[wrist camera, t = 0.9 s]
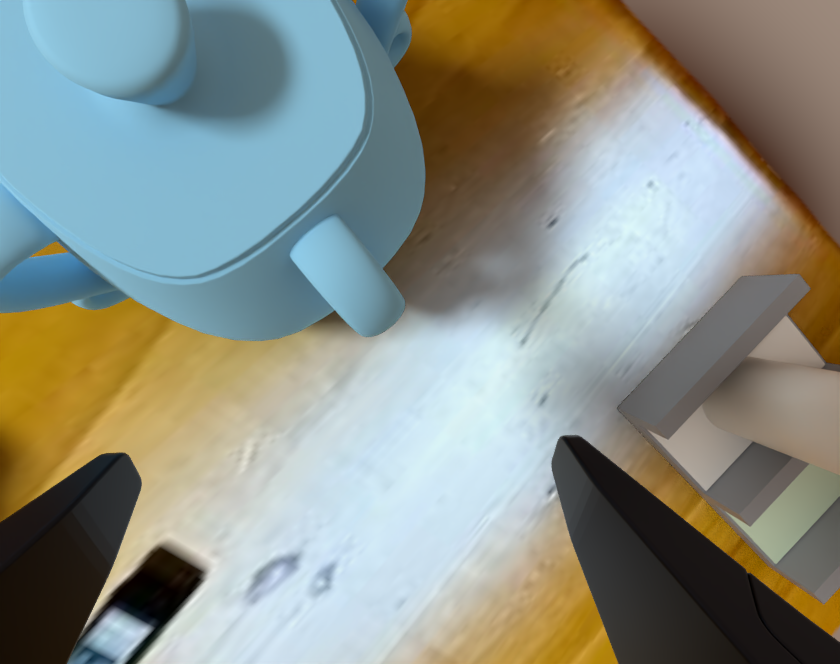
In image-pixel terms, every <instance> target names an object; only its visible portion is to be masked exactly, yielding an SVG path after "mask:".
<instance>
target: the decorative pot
mask: <svg viewBox="0 0 840 664" xmlns="http://www.w3.org/2000/svg"><path fill="white" fill-rule="evenodd" d="M406 3H407V0H357V2H356V5H355V4H354V3H353V1H352V0H0V313H11V312H22V311H29V310H36V309H41V308H46V307H51V306H55V305H59V304H64V303H68V302H72V303H74V304H75V305H77V306H79V307H82V308H85V309H91V310H98V309H103V308H107V307H110V306H113V305H115V304H117V303H119V302H122V301H124V300H125V299H127V298H129V297H131V298H132V299H134V300H136V301H137V302H139V303H141V304H143V305H144V306H146V307H148V308H150V309H152V310H154V311H156V312H158V313H160V314H162V315H164V316H165V317H167V318H169V319H171V320H173V321H175V322H177V323H180V324H182V325H185V326H187V327H190V328H192V329H195V330H197V331H200V332H202V333H206V334H210V335H214V336H219V337H223V338H228V339H232V340H244V341H264V340H272V339H279V338H282V337H285V336H288V335H291V334H294V333H296V332H299V331H301V330H303V329H305V328H307V327H309V326H310V325H312V324H314V323H316V322H317V321H319V320H321V319H323V318H324V317H326V316H327V315H329V314H330V313H332V312H333V311H334V310H335V311H336V312H337V313H338V314H339V315H340V316H341V317H342V318H343V319H344V321H345V322H346V323H347V324H348V325H349V326H350V327H352V328H353V329H354V330H355V331H356V332H357V333H358V334H360V335H361V336H364V337H372V336H376V335H379V334H381V333H383V332H384V331H386V330H387V329H389V328H390V327H391V326H392V325H394V324H395V323H396V322H397V320H398V319H399V318H400V316H401V315H402V313H403V311H404V309H405V300H404V298H403V296H402V295H401V293H400V292H399V290H398V289H397V287H396V286H395V285H394V283H393V282H392V280H391V279H390V278H389V276H388V275H387V274H386V272H385V271H384V270H383V268H384V266H385V265H386V264H387V263H388V262H389V261H390V260H391V258H392V257H393V256H394V255H395V254H396V252H397V251H398V250H399V248H400V247H401V246H402V244H403V243H404V241H405V240H406V239H407V237H408V236H409V235H410V233H411V231H412V229H413V227H414V224H415V222H416V220H417V218H418V216H419V214H420V211H421V206H422V202H423V198H424V191H425V172H426V171H425V163H424V154H423V147H422V142H421V138H420V135H419V131H418V128H417V124H416V121H415V117H414V114H413V112H412V109H411V107H410V104H409V102H408V99H407V97H406V94H405V92H404V89H403V87H402V85H401V83H400V81H399V78H398V76H397V74H396V72H395V70H394V67H395V66H396V65H397V64H398V63H399V61H400V60H401V59H402V57H403V56H404V54H405V53H406V51H407V49H408V47H409V45H410V42H411V36H412V29H411V25H410V21H409V18H408V16H407V14H406V12H405V11H404V9H405V6H406ZM56 241H57V242H58V243H59V244H61V245H62V246H63V247H64V248H65V249H66V250H67V251H69V253H61V254H54V255H46V256H38V257H31V258H29V257H30V256H32V255H33V254H35V253H36V252H38V251H40V250H41V249H43V248H44V247H46V246H48V245H49V244H51V243H54V242H56Z"/></svg>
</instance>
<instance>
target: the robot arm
mask: <svg viewBox="0 0 840 664" xmlns="http://www.w3.org/2000/svg"><path fill="white" fill-rule="evenodd" d="M552 472H553V476H554V480H555V483H556V487H557V491H558V494H559V498H560V502H561V505H562V509H563V513H564V516H565V520H566V524H567V527H568V531H569V534H570V538H571V541H572V543H573V546H574V549H575V552H576V554H577V557H578V560H579V562H580V565H581V567H582V570H583V573H584V575H585V578H586V580H587V583H588V586H589V588H590V591H591V593H592V596H593V599H594V601H595V604H596V606H597V609H598V612H599V614H600V617H601V619H602V622H603V625H604V627H605V630H606V632H607V635H608V638H609V640H610V643H611V645H612V648H613V651H614V653H615V656H616V658H617V661H618V664H840V642H839V641H837V640H836V639H835V638H833V637H832V636H831V635H829V634H828V633H827V632H825V631H824V630H823V629H821V628H820V627H819V626H817V625H816V624H815V623H813V622H812V621H811V620H809V619H808V618H807V617H805V616H804V615H803V614H802V613H800V612H799V611H798V610H796V609H795V608H794V607H793V606H791V605H790V604H789V603H787V602H786V601H785V600H784V599H782V598H781V597H780V596H779V595H777V594H776V593H775V592H773V591H772V590H771V589H770V588H768V587H767V586H766V585H765V584H764V583H762V582H761V581H760V580H759V579H757V578H756V577H755V576H754V575H752V574H751V573H747V571H746V569H745V568H743V567H742V566H741V565H740V564H739V563H737V562H736V561H735V560H734V559H732V558H731V557H730V556H729V555H727V554H726V553H725V552H724V551H722V550H721V549H720V548H719V547H717V546H716V545H715V544H714V543H712V542H711V541H710V540H709V539H708V538H706V537H705V536H704V535H703V534H701V533H700V532H699V531H698V530H696V529H695V528H694V527H693V526H691V525H690V524H689V523H688V522H686V521H685V520H684V519H683V518H681V517H680V516H679V515H678V514H677V513H675V512H674V511H673V510H672V509H670V508H669V507H668V506H667V505H665V504H664V503H663V502H662V501H660V500H659V499H658V498H657V497H655V496H654V495H653V494H652V493H650V492H649V491H648V490H647V489H646V488H644V487H643V486H642V485H641V484H639V483H638V482H637V481H636V480H634V479H633V478H632V477H631V476H629V475H628V474H627V473H626V472H624V471H623V470H622V469H621V468H619V467H618V466H617V465H616V464H615V463H613V462H612V461H611V460H610V459H608V458H607V457H606V456H605V455H603V454H602V453H601V452H600V451H598V450H597V449H596V448H595V447H593V446H592V445H591V444H590V443H588V442H587V441H586V440H585V439H583V438H582V437H580V436H578V435H565V436H561V437H560V438H559V439H558V442H557V445H556V448H555V452H554V455H553V458H552ZM141 486H142V482H141V477H140V475H139V473H138V471H137V470H136V468H135V466H134V464H133V462H132V460H131V458H130V457H129V455H128V454H126V453H105V454H101V455H99V456H98V457H96V458H95V459H93V460H92V461H90V462H89V463H87V464H86V465H84V466H83V467H81V468H80V469H78V470H77V471H75V472H74V473H72V474H71V475H70V476H68V477H67V478H65V479H64V480H62V481H61V482H59V483H58V484H56V485H55V486H53V487H52V488H50V489H49V490H47V491H46V492H44V493H43V494H42V495H40V496H39V497H37V498H36V499H34V500H33V501H31V502H30V503H28V504H27V505H25V506H24V507H22V508H21V509H19V510H18V511H16V512H15V513H14V514H12V515H11V516H9V517H8V518H6V519H5V520H3V521H2V522H0V664H67V662H68V660H69V658H70V656H71V654H72V652H73V649H74V647H75V645H76V643H77V641H78V639H79V637H80V635H81V633H82V631H83V629H84V626H85V624H86V622H87V620H88V618H89V616H90V614H91V612H92V610H93V608H94V605H95V603H96V601H97V599H98V597H99V595H100V593H101V591H102V589H103V587H104V584H105V582H106V580H107V578H108V576H109V574H110V571H111V569H112V567H113V564H114V562H115V559H116V557H117V554H118V552H119V549H120V546H121V543H122V540H123V538H124V535H125V532H126V529H127V527H128V524H129V521H130V518H131V516H132V513H133V510H134V507H135V505H136V502H137V499H138V496H139V494H140V490H141Z"/></svg>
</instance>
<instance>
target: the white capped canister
mask: <svg viewBox="0 0 840 664" xmlns="http://www.w3.org/2000/svg"><path fill="white" fill-rule="evenodd" d="M702 406H703V410H704V413H705V415H706V417H707V418H708V420H709V421H710V422H711V423H712V424H713V425H715V426H716V427H718V428H720V429H722V430H725V431H727V432H730V433H733V434H735V435H738V436H740V437H743V438H745V439H748V440H750V441H753V442H756V443H758V444H761V445H763V446H766V447H768V448H771V449H774V450H776V451H779V452H781V453H784V454H786V455H789V456H791V457H794V458H797V459H799V460H802V461H804V462H807V463H809V464H812V465H815V466H817V467H820V468H822V469H825V470H827V471H830V472H833V473H835V474H838V475H840V372H837V371H831V370H825V369H819V368H813V367H807V366H802V365H796V364H790V363H784V362H778V361H772V360H766V359H760V358H755V357H749V356H747V357H746V358H745V359H744V360H743V361H742V362H741V363H740V364H739V365H738V366H737V368H736V369H735V370H734V371H733V372H732V373H731V374H730V375H729V376H728V377H727V378H726V379H725V380H724V381H723V382H722V383H721V385H720V386H719V387H718V388H717V389H716V390H715V391H714V392H713V393H712V394H711V395H710V396H709V397H708V398H707V399H706V400H705V401H704V403H703V404H702Z"/></svg>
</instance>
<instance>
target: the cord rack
mask: <svg viewBox="0 0 840 664" xmlns="http://www.w3.org/2000/svg"><path fill="white" fill-rule="evenodd" d="M810 289H811V288H810V287H809V286H808V285H807V283H806V282H805V281H804V279H803V278H802V277H801V276H800V274H788V275H764V276H742V277H741V278H740V279H739V280H738V281H737V282H736V283H735V284H734V285H733V286H732V287H731V288H730V289H729V290H728V291H727V292H726V294H725V295H724V296H723V297H722V298H721V299H720V300H719V301H718V302H717V303H716V304H715V305H714V306H713V307H712V308H711V309H710V310H709V311H708V313H707V314H706V315H705V316H704V317H703V318H702V319H701V320H700V321H699V322H698V323H697V324H696V325H695V326H694V327H693V328H692V329H691V330H690V331H689V333H688V334H687V335H686V336H685V337H684V338H683V339H682V340H681V341H680V342H679V343H678V344H677V345H676V346H675V347H674V348H673V349H672V350H671V352H670V353H669V354H668V355H667V356H666V357H665V358H664V359H663V360H662V361H661V362H660V363H659V364H658V365H657V366H656V367H655V368H654V369H653V371H652V372H651V373H650V374H649V375H648V376H647V377H646V378H645V379H644V380H643V381H642V382H641V383H640V384H639V385H638V386H637V387H636V388H635V389H634V391H633V392H632V393H631V394H630V395H629V396H628V397H627V398H626V399H625V400H624V401H623V402H622V403H621V404H620V405H619V406H618V407H617V409H618V410H619V411H620V412H621V413H622V414H623V415H624V416H625V417H626V418H627V419H628V420H629V421H630V422H631V423H632V424H633V425H634V427H635V428H636V429H637V430H638V431H639V432H640V433H641V434H642V435H643V436H644V437H645V438H646V439H647V440H648V441H649V442H650V443H651V444H652V445H653V446H654V447H655V448H656V449H657V450H658V452H659V453H660V454H661V455H662V456H663V457H664V458H665V459H666V460H667V461H668V462H669V463H670V464H671V465H672V466H673V467H674V468H675V469H676V470H677V471H678V472H679V473H680V474H681V475H682V477H683V478H684V479H685V480H686V481H687V482H688V483H689V484H690V485H691V486H692V487H693V488H694V489H695V490H696V491H697V492H698V493H699V494H700V495H701V496H702V497H703V498H704V499H705V500H706V502H707V503H708V504H709V505H710V506H711V507H712V508H713V509H714V510H715V511H716V512H717V513H718V514H719V515H720V516H721V517H722V518H723V519H724V520H725V521H726V522H727V523H728V524H729V525H730V527H731V528H732V529H733V530H734V531H735V532H736V533H737V534H738V535H739V536H740V537H741V538H742V539H743V540H744V541H745V542H746V543H747V544H748V545H749V546H750V547H751V548H752V549H753V550H754V552H755V553H756V554H757V555H758V556H759V557H760V558H761V559H762V560H763V561H764V562H765V563H766V564H767V565H768V566H769V567H770V568H772V569H773V570H775V571H776V572H778V573H779V574H781V575H782V576H783V577H785V578H786V579H788V580H789V581H791V582H792V583H794V584H795V585H797V586H798V587H799V588H801V589H802V590H804V591H805V592H807V593H808V594H810V595H811V596H812V597H814V598H815V599H817V600H818V601H820V602H821V603H823V604H825V603H826V602H827V600H828V599H829V598H830V597H831V596H832V595H833V594H834V593H835V592H836V591H837V590H838V589H839V588H840V475H838V474H835V473H833V472H830V471H827V470H825V469H822V468H820V467H817V466H815V465H812V464H809V463H807V462H804V461H802V460H799V459H797V458H794V457H791V456H789V455H786V454H784V453H781V452H779V451H776V450H774V449H771V448H768V447H766V446H763V445H761V444H758V443H756V442H753V441H750V440H748V439H745V438H743V437H740V436H738V435H735V434H733V433H730V432H727V431H725V430H722V429H720V428H718V427H716V426H715V425H713V424H712V423H711V422H710V421H709V420H708V418H707V417H706V415H705V413H704V410H703V406H702V404H703V403H704V401H705V400H706V399H707V398H708V397H709V396H710V395H711V394H712V393H713V392H714V391H715V390H716V389H717V388H718V387H719V386H720V385H721V383H722V382H723V381H724V380H725V379H726V378H727V377H728V376H729V375H730V374H731V373H732V372H733V371H734V370H735V369H736V368H737V366H738V365H739V364H740V363H741V362H742V361H743V360H744V359H745V358H746V357H747V356H749V357H755V358H760V359H766V360H772V361H778V362H784V363H790V364H796V365H802V366H807V367H813V368H819V369H825V370H831V371H837V372H840V365H837V364H831V363H826V362H825V360H824V359H823V358H822V357H821V355H820V354H819V353H818V352H817V350H816V349H815V348H814V347H813V345H812V344H811V343H810V342H809V340H808V339H807V338H806V337H805V335H804V334H803V333H802V332H801V330H800V329H799V328H798V327H797V325H796V324H795V323H794V322H793V320H792V319H791V318H790V317H789V316H788V312H789V311H790V310H791V309H792V308H793V307H794V306H795V305H796V304H797V303H798V302H799V301H800V300H801V299H802V298H803V297H804V296H805V294H806V293H807V292H808V291H809V290H810Z"/></svg>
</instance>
